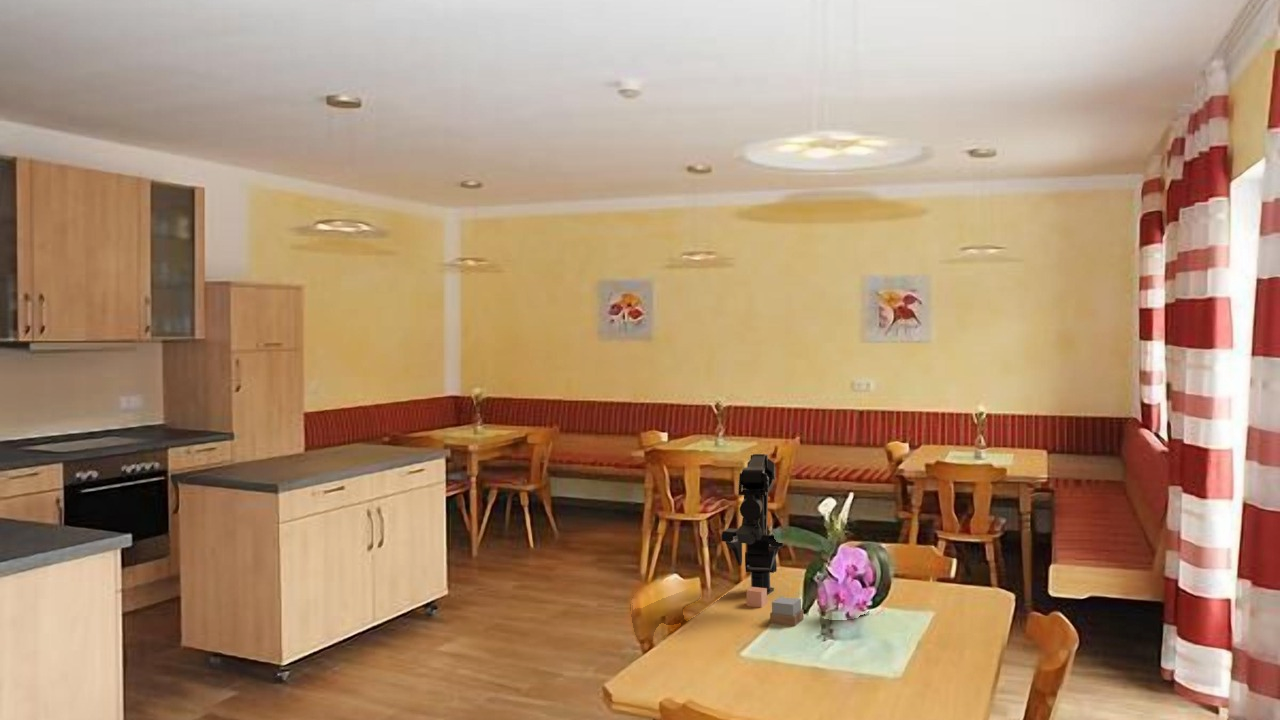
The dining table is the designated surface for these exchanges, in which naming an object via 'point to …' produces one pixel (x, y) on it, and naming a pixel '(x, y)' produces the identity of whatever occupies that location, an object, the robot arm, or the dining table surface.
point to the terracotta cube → (757, 597)
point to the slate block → (786, 606)
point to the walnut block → (787, 618)
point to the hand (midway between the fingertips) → (755, 567)
